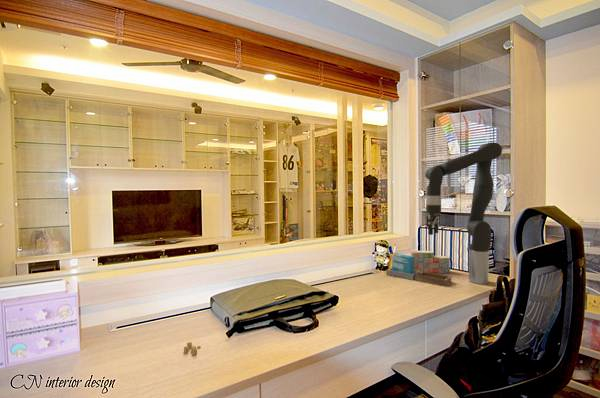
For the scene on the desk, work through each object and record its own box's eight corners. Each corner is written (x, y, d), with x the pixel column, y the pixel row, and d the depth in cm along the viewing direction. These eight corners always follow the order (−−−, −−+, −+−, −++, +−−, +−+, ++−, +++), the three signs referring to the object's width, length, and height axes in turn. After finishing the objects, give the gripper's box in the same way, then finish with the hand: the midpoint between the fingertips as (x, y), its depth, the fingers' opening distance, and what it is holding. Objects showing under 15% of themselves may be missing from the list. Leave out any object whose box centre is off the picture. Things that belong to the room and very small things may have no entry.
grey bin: (393, 271, 193) (393, 266, 192) (419, 276, 182) (420, 271, 182) (386, 275, 185) (386, 270, 185) (413, 280, 174) (413, 274, 174)
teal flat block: (392, 274, 187) (392, 254, 187) (396, 273, 190) (396, 253, 189) (409, 278, 177) (409, 257, 177) (414, 277, 180) (414, 256, 180)
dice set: (195, 356, 96) (195, 350, 96) (180, 355, 97) (180, 349, 97) (203, 348, 101) (203, 342, 101) (188, 347, 102) (188, 341, 102)
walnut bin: (421, 276, 181) (421, 271, 181) (451, 282, 171) (451, 276, 171) (414, 280, 174) (415, 275, 174) (445, 286, 163) (445, 280, 163)
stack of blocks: (446, 270, 195) (446, 251, 194) (449, 273, 188) (450, 253, 188) (410, 269, 198) (410, 250, 198) (412, 272, 192) (412, 252, 191)
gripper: (436, 204, 163) (436, 235, 164) (445, 203, 174) (444, 233, 174) (421, 204, 168) (421, 234, 169) (431, 203, 179) (430, 231, 179)
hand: (433, 233), depth 172 cm, fingers open, 8 cm apart
